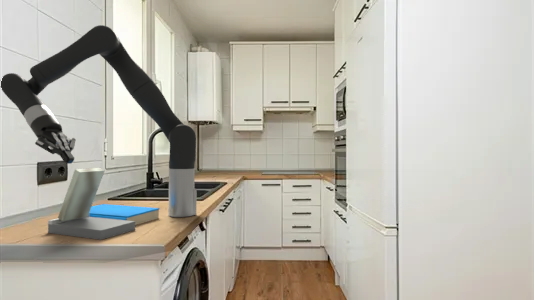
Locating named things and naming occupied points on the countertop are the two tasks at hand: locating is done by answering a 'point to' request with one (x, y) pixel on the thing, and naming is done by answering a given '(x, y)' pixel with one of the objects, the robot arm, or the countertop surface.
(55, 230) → the board
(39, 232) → the countertop surface
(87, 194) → the silver flat block
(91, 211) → the book
